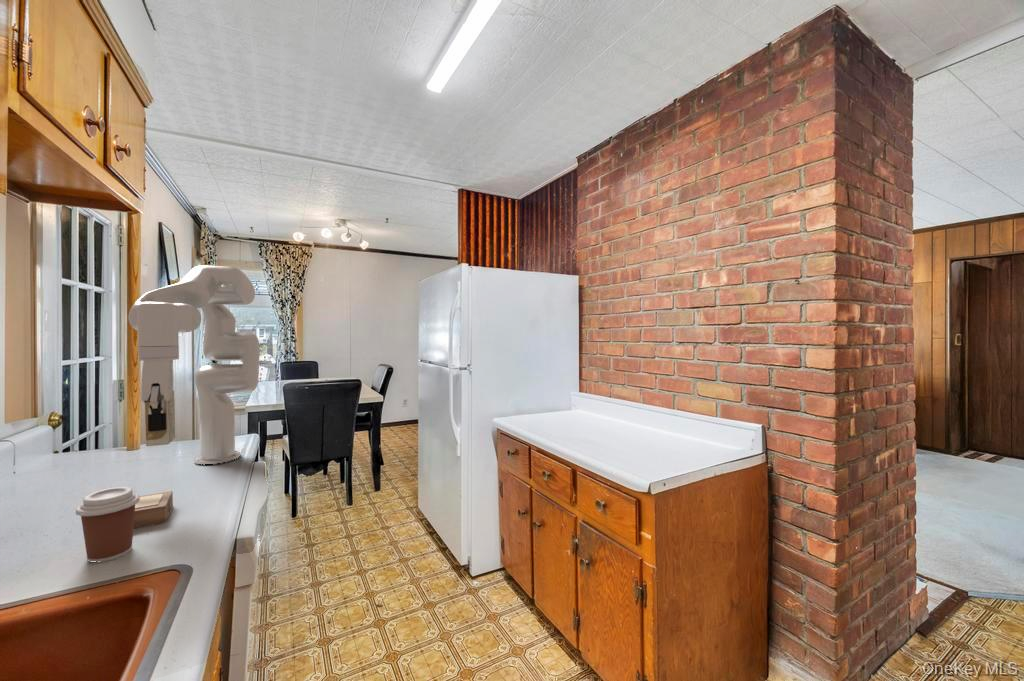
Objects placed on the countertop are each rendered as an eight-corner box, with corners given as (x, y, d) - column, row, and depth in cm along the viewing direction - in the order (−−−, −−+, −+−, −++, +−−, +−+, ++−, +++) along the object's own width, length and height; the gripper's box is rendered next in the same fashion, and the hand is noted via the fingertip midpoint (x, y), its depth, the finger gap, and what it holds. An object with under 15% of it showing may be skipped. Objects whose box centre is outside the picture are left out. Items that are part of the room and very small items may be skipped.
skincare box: (154, 440, 105) (153, 390, 104) (176, 438, 106) (175, 389, 106) (144, 447, 99) (143, 395, 98) (168, 445, 101) (166, 394, 100)
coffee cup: (132, 537, 89) (131, 481, 89) (147, 550, 84) (146, 491, 84) (71, 556, 82) (69, 495, 81) (83, 572, 77) (81, 507, 76)
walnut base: (118, 515, 99) (118, 498, 99) (172, 506, 105) (172, 490, 104) (106, 533, 91) (105, 515, 91) (165, 522, 96) (165, 505, 96)
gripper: (145, 352, 107) (147, 422, 108) (129, 356, 92) (131, 437, 93) (183, 351, 111) (184, 419, 112) (173, 355, 96) (174, 433, 97)
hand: (160, 426), depth 102 cm, fingers closed on skincare box, 6 cm apart
